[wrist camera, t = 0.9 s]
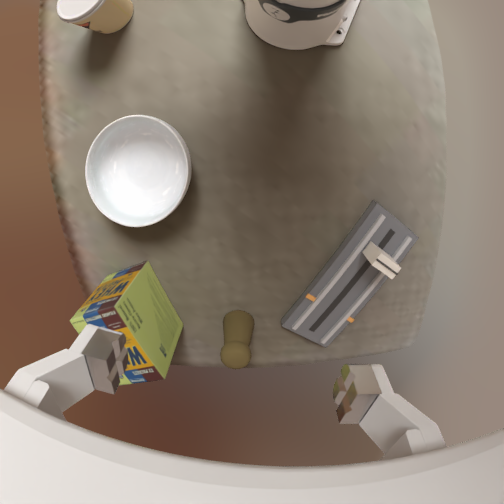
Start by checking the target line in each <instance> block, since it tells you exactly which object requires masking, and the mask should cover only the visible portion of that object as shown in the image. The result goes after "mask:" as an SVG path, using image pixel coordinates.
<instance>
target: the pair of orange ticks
mask: <svg viewBox="0 0 504 504" xmlns="http://www.w3.org/2000/svg"><path fill="white" fill-rule="evenodd" d="M305 297H306V298H308V299H309V300H311V301H313V302H314V301H315V299H316V297H314V296H312V295H310V294H309V293H308V294H307V295H306V296H305ZM347 320H348V321H349V322H351V323H352V322H353V321H354V319H353V318H351V317H349V318H348V319H347Z"/></svg>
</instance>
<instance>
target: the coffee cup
mask: <svg viewBox="0 0 504 504" xmlns="http://www.w3.org/2000/svg"><path fill="white" fill-rule="evenodd" d="M133 11H134V8H133V4H132V2H131V1H130V0H58V2H57V13H58V15H59V17H60V19H61V20H63V21H64V22H67V23H73V24H76V25H79V26H82V27H85V28H88V29H91V30H94V31H97V32H101V33H105V34H109V33H114V32H116V31H118V30H120V29H121V28H123V27H124V26H125V25H126V24H127V23H128V22H129V20H130V19H131V17H132V15H133Z"/></svg>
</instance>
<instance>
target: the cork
mask: <svg viewBox="0 0 504 504" xmlns="http://www.w3.org/2000/svg"><path fill="white" fill-rule="evenodd" d="M253 327H254V319H253V318H252V316H251V315H250V314H249V313H247V312H245V311H241V310H235V311H232V312H229V313H228V314H226V316H225V317H224V320H223V329H224V346H223V347H222V349H221V353H220V356H221V360H222V362H223V363H224V365H226V366H227V367H229V368H232V369H240V368H243V367H245V366H246V365H247V364H248V363H249V362H250V359H251V351H250V349H249V344H250V340H251V336H252V331H253Z"/></svg>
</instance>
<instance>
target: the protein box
mask: <svg viewBox="0 0 504 504" xmlns="http://www.w3.org/2000/svg"><path fill="white" fill-rule="evenodd" d="M70 322H71V323H72V325H73V326H74V328H75V329H76V330H77V332H78V333H79V335H80V333H81V332H82V330H83V329H84V328H85V326H86V325H88V324H92V325H95V326H98V327H103V328H106V329H110V330H113V331H117V332H121V333H124V334H125V336H126V343H125V345H124V346H125V348H126V349H127V350H128V364H127V368H126V370H125V373H124V374H122V375H120V376H119V378H120V383H119V385H126V384H133V383H141V382H148V381H157V380H164V379H165V378H166V375H167V372H168V369H169V366H170V363H171V360H172V357H173V354H174V351H175V348H176V345H177V342H178V339H179V336H180V333H181V331H182V328H183V323H182V321H181V320H180V318H179V316H178V315H177V313H176V311H175V309H174V308H173V306H172V304H171V302H170V300H169V299H168V297H167V295H166V293H165V292H164V290H163V288H162V286H161V284H160V282H159V280H158V279H157V277H156V275H155V273H154V271H153V269H152V267H151V265H150V263H149V261H145V262H143V263H140V264H137V265H135V266H132V267H129V268H126V269H124V270H121V271H118V272H116V273H113V274H110V275H108V276H107V277H106V278H105V279H104V280H103V281H102V283H101V284H100V285H99V286H98V287H97V288H96V290H95V291H94V292H93V293H92V294H91V296H90V297H89V298H88V299H87V300H86V302H85V303H84V304H83V305H82V307H81V308H80V309H79V310H78V311H77V312H76V314H75V315H74V316H73V317H72V319H71V320H70Z"/></svg>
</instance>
